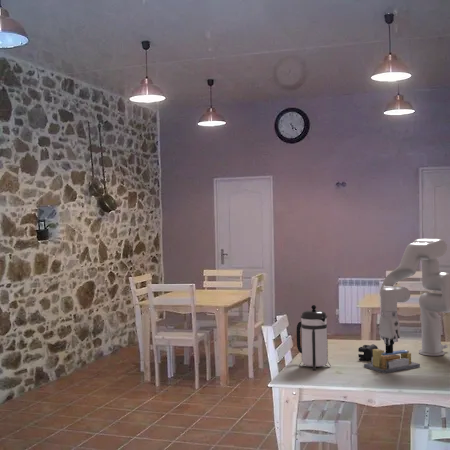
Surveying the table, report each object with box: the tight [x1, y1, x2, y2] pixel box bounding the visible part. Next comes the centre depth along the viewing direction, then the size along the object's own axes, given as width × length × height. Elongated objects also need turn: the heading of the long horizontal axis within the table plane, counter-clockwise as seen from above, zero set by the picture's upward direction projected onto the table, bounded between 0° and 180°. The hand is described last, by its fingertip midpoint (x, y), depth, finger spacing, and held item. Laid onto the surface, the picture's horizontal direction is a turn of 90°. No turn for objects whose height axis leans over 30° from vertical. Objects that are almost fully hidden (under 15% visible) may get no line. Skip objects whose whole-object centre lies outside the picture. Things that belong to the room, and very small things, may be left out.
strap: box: [381, 349, 410, 356], centre depth 297 cm, size 16×3×1 cm, turn 117°
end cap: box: [358, 344, 379, 362], centre depth 315 cm, size 10×7×7 cm
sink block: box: [363, 348, 421, 374], centre depth 297 cm, size 22×14×9 cm, turn 117°
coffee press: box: [296, 304, 331, 371], centre depth 301 cm, size 17×16×30 cm
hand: (389, 352), depth 296 cm, fingers closed
